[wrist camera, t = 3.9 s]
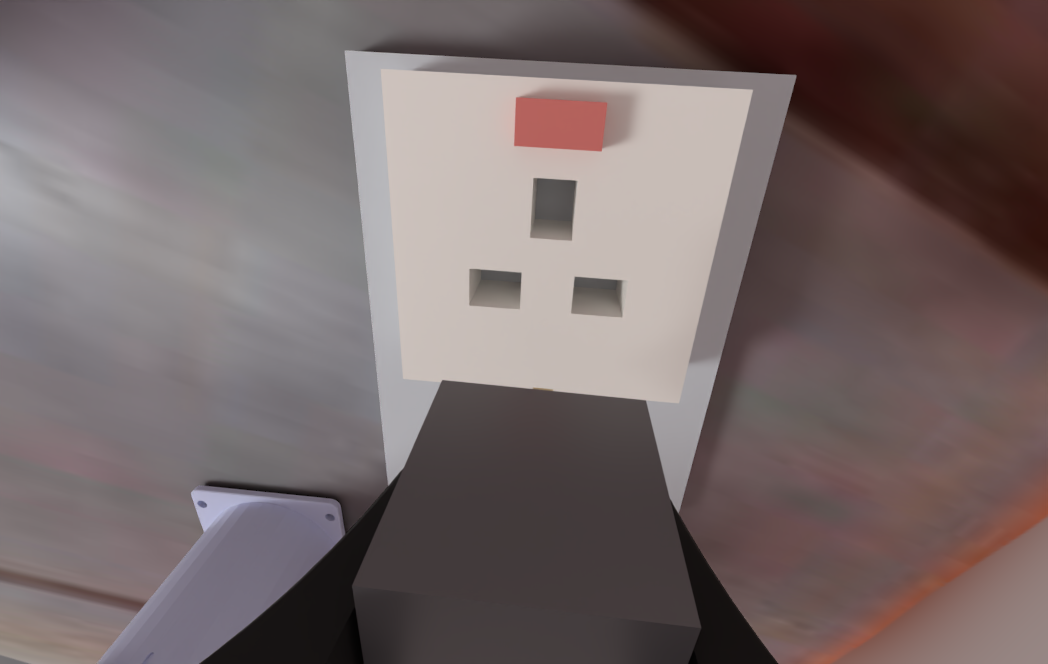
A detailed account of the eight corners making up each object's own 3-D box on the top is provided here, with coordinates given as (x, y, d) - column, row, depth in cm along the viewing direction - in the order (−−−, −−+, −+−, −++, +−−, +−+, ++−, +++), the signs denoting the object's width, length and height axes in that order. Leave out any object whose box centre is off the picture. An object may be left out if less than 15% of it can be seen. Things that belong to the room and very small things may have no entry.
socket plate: (421, 346, 20) (397, 387, 17) (407, 72, 15) (372, 67, 13) (666, 367, 19) (682, 413, 17) (725, 90, 15) (761, 89, 12)
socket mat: (671, 507, 24) (676, 523, 23) (395, 480, 25) (388, 494, 24) (783, 76, 16) (797, 75, 15) (357, 53, 16) (344, 50, 15)
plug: (454, 551, 15) (387, 820, 10) (453, 353, 12) (352, 586, 6) (599, 568, 15) (617, 853, 9) (638, 371, 12) (701, 628, 6)
